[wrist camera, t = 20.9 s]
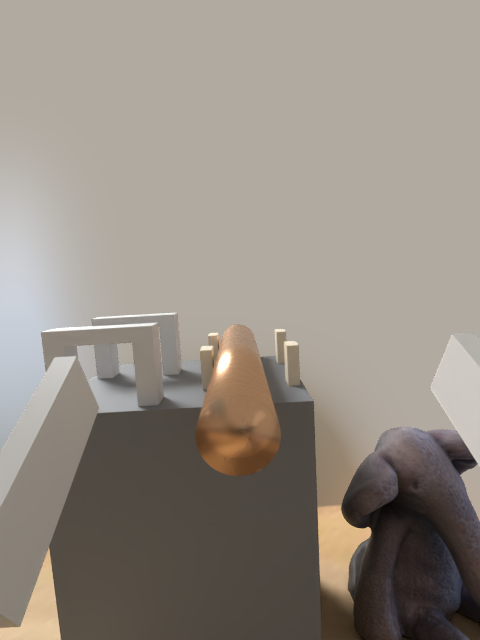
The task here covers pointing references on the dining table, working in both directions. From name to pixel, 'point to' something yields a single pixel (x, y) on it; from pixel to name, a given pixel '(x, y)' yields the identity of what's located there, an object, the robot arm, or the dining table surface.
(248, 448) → the copper tube
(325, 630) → the dining table surface
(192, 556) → the grey pedestal with pegs
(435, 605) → the elephant
